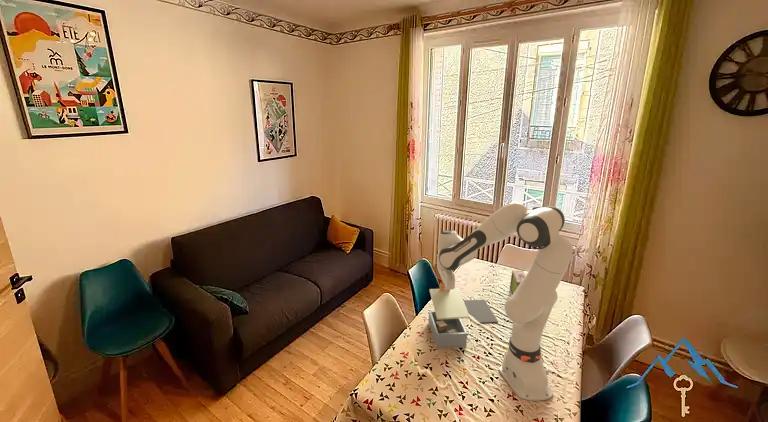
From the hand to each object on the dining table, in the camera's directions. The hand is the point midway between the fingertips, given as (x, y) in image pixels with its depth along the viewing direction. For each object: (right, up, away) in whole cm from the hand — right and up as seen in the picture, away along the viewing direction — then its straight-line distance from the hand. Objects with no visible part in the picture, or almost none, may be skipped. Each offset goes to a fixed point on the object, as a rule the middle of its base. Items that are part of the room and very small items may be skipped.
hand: (445, 287), depth 165 cm
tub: (0, -23, -1) cm, 23 cm away
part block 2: (+3, -24, -5) cm, 24 cm away
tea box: (+48, -13, +29) cm, 58 cm away
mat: (+20, -17, +18) cm, 32 cm away
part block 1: (-2, -21, +2) cm, 22 cm away
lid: (+1, -7, -5) cm, 9 cm away
